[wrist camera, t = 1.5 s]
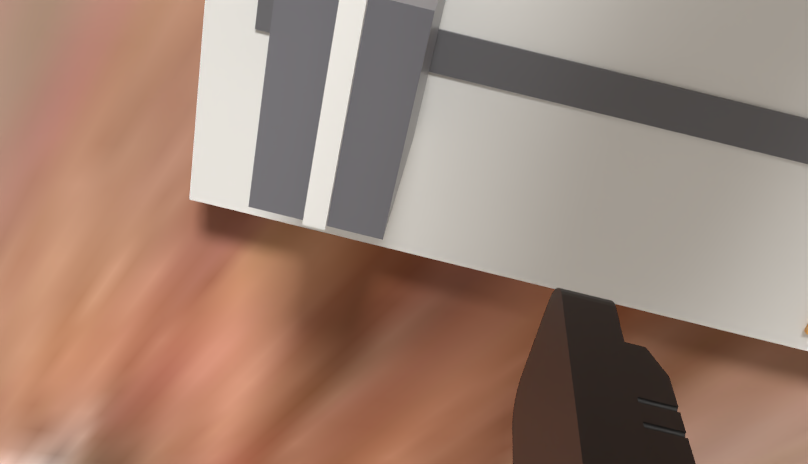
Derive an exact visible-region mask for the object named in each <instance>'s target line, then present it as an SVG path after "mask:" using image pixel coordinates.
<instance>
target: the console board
mask: <svg viewBox="0 0 808 464" xmlns="http://www.w3.org/2000/svg"><path fill="white" fill-rule="evenodd" d="M273 3H274V0H205V8H204V21H203V33H202V46H201V59H200V71H199V84H198V97H197V109H196V122H195V135H194V147H193V160H192V173H191V185H190V198H189V199H190V200H194V201H198V202H202V203H206V204H211V205H215V206H219V207H223V208H227V209H231V210H235V211H239V212H243V213H247V214H251V215H255V216H259V217H263V218H268V219H272V220H276V221H280V222H284V223H288V224H292V225H296V226H300V227H304V228H308V229H312V230H316V231H320V232H325V233H329V234H333V235H337V236H341V237H345V238H349V239H353V240H357V241H361V242H365V243H369V244H373V245H377V246H382V247H386V248H390V249H394V250H398V251H402V252H406V253H410V254H414V255H418V256H422V257H426V258H430V259H434V260H438V261H443V262H447V263H451V264H455V265H459V266H463V267H467V268H471V269H475V270H479V271H483V272H487V273H491V274H495V275H500V276H504V277H508V278H512V279H516V280H520V281H524V282H528V283H532V284H536V285H540V286H544V287H548V288H552V289H556V288H562V289H566V290H571V291H575V292H579V293H583V294H587V295H591V296H595V297H599V298H604V299H608V300H612V301H613V302H614V303H615V304H618V305H622V306H626V307H630V308H634V309H638V310H642V311H646V312H650V313H654V314H658V315H662V316H666V317H671V318H675V319H679V320H683V321H687V322H691V323H695V324H699V325H703V326H707V327H711V328H715V329H719V330H723V331H728V332H732V333H736V334H740V335H744V336H748V337H752V338H756V339H760V340H764V341H768V342H772V343H776V344H780V345H785V346H789V347H793V348H797V349H801V350H805V351H808V0H445V5H444V9H443V13H442V18H441V22H440V26H439V31H438V35H437V39H436V43H435V48H434V52H433V56H432V61H431V65H430V69H429V73H428V78H427V82H426V86H425V91H424V95H423V99H422V104H421V108H420V112H419V116H418V121H417V125H416V129H415V134H414V138H413V141H412V145H411V148H410V151H409V155H408V158H407V161H406V165H405V168H404V171H403V175H402V178H401V181H400V184H399V188H398V191H397V194H396V198H395V201H394V204H393V208H392V211H391V214H390V217H389V221H388V224H387V227H386V231H385V234H384V237H383V240H382V239H378V238H374V237H370V236H366V235H361V234H357V233H353V232H349V231H345V230H341V229H337V228H333V227H329V226H327V227H326V229H325V230H322V229H317V228H313V227H309V226H305V225H302V223H303V220H300V219H296V218H292V217H288V216H284V215H280V214H276V213H272V212H268V211H264V210H260V209H256V208H252V207H248V206H249V198H250V190H251V182H252V173H253V165H254V157H255V149H256V141H257V133H258V125H259V116H260V108H261V100H262V92H263V84H264V76H265V68H266V60H267V51H268V43H269V35H270V27H271V19H272V11H273Z"/></svg>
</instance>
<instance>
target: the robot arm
mask: <svg viewBox="0 0 808 464" xmlns="http://www.w3.org/2000/svg"><path fill="white" fill-rule="evenodd" d="M677 409H678V404H677V401H676V398H675V395H674V391H673V388H672V385H671V381H670V378H669V376H668V375H667V373H666V372H665V371H664V370H663V369H662V367H661V366H660V365H659V364H658V362H657V361H656V360H655V359H654V357H653V356H652V355H651V354H650V352H649V351H648V350H647V349H646V347H642V346H638V345H634V344H630V343H626V342H624V339H623V335H622V331H621V327H620V322H619V318H618V314H617V310H616V306H615V303H614V302H613V301H612V300H608V299H604V298H599V297H595V296H591V295H587V294H583V293H579V292H575V291H571V290H566V289H562V288H556V289H555V290H554V292H553V293H552V295H551V297H550V299H549V302H548V305H547V307H546V310H545V313H544V316H543V318H542V321H541V324H540V327H539V329H538V332H537V335H536V338H535V340H534V343H533V346H532V349H531V351H530V354H529V357H528V360H527V362H526V365H525V368H524V371H523V373H522V376H521V379H520V382H519V386H518V390H517V394H516V399H515V404H514V411H513V421H512V434H513V464H695V460H694V457H693V454H692V450H691V447H690V444H689V441H688V439H687V438H685V433H686V431H685V427H684V424H683V421H682V418H681V414H680V413H679V412H677Z"/></svg>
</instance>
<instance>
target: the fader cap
mask: <svg viewBox="0 0 808 464" xmlns="http://www.w3.org/2000/svg"><path fill="white" fill-rule="evenodd" d="M444 5H445V0H274V3H273V11H272V19H271V27H270V35H269V43H268V51H267V60H266V68H265V76H264V84H263V92H262V100H261V108H260V116H259V125H258V133H257V141H256V149H255V157H254V165H253V173H252V182H251V190H250V198H249V206H248V207H252V208H256V209H260V210H264V211H268V212H272V213H276V214H280V215H284V216H288V217H292V218H296V219H300V220H303V223H302V225H305V226H309V227H313V228H317V229H322V230H325V229H326V227H327V226H329V227H333V228H337V229H341V230H345V231H349V232H353V233H357V234H361V235H366V236H370V237H374V238H378V239H382V240H383V237H384V234H385V231H386V227H387V224H388V221H389V217H390V214H391V211H392V208H393V204H394V201H395V198H396V194H397V191H398V188H399V184H400V181H401V178H402V175H403V171H404V168H405V165H406V161H407V158H408V155H409V151H410V148H411V145H412V141H413V138H414V134H415V129H416V125H417V121H418V116H419V112H420V108H421V104H422V99H423V95H424V91H425V86H426V82H427V78H428V73H429V69H430V65H431V61H432V56H433V52H434V48H435V43H436V39H437V35H438V31H439V26H440V22H441V18H442V13H443V9H444Z"/></svg>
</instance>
